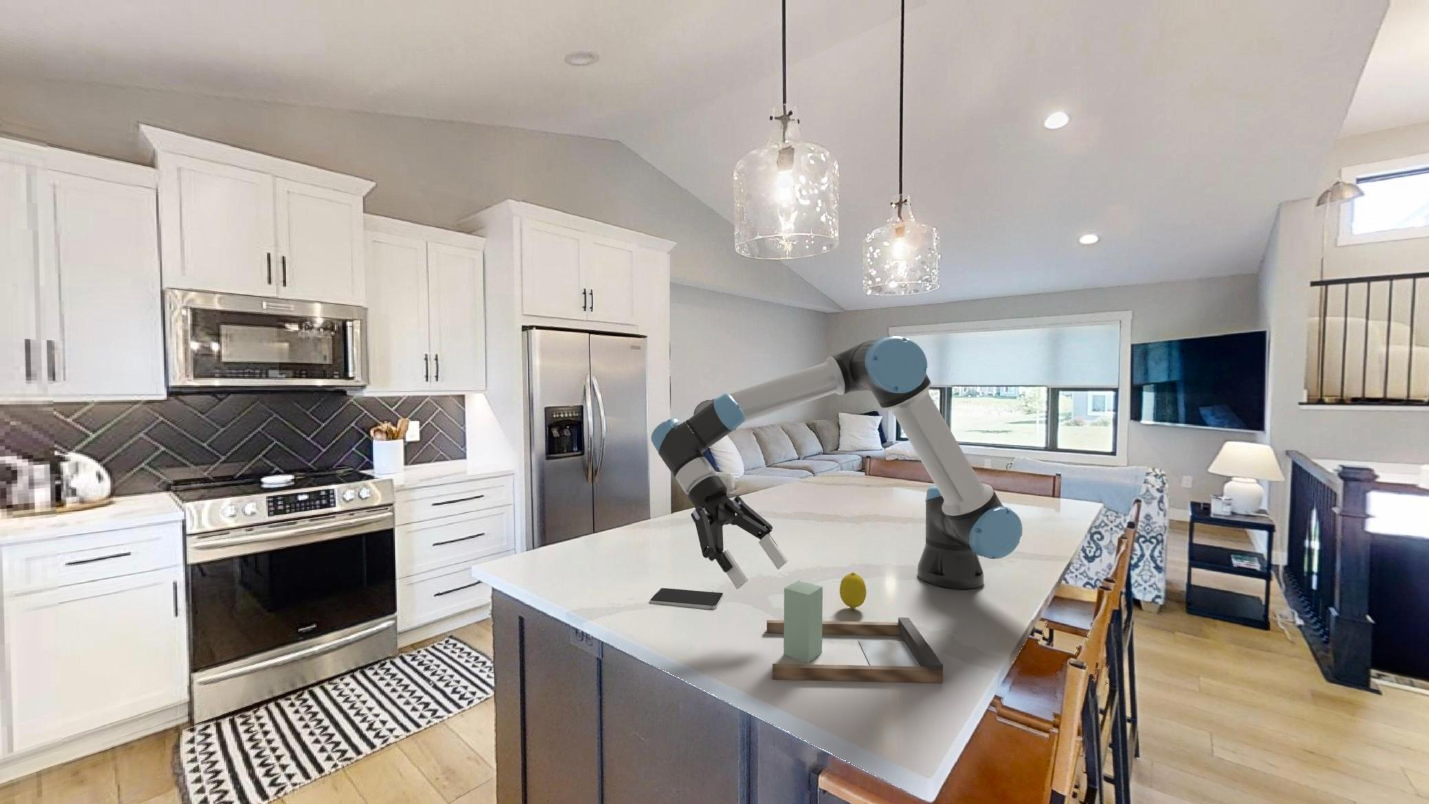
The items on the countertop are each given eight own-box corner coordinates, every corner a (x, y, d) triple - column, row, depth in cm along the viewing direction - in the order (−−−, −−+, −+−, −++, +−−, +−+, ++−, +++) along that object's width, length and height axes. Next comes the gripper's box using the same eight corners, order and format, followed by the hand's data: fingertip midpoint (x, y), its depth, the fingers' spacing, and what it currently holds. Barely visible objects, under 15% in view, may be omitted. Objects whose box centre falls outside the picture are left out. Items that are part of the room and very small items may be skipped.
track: (908, 632, 110) (908, 617, 110) (942, 682, 92) (943, 664, 92) (766, 630, 111) (766, 615, 111) (772, 679, 93) (772, 661, 93)
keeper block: (797, 644, 105) (798, 580, 105) (822, 652, 102) (822, 586, 102) (783, 654, 101) (784, 588, 101) (808, 663, 98) (809, 594, 98)
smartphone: (661, 587, 132) (723, 592, 129) (661, 592, 132) (723, 597, 129) (649, 600, 124) (715, 606, 121) (649, 605, 124) (715, 611, 121)
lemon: (851, 616, 117) (851, 578, 117) (834, 607, 122) (834, 570, 122) (871, 611, 120) (872, 574, 120) (853, 602, 125) (854, 566, 125)
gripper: (728, 487, 126) (786, 568, 117) (649, 507, 106) (710, 605, 98) (748, 466, 122) (809, 547, 114) (669, 482, 103) (735, 582, 94)
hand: (763, 574), depth 106 cm, fingers open, 13 cm apart
